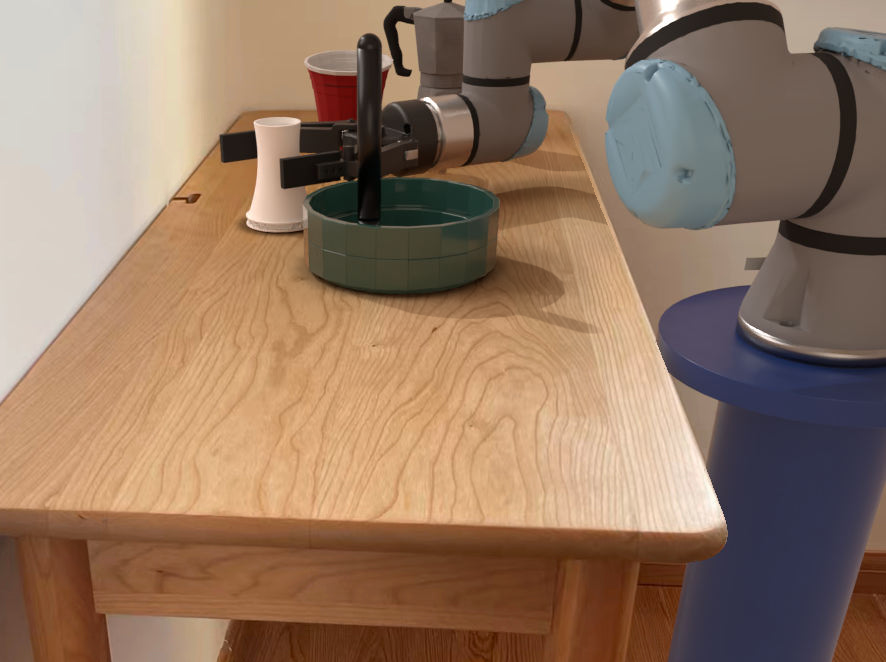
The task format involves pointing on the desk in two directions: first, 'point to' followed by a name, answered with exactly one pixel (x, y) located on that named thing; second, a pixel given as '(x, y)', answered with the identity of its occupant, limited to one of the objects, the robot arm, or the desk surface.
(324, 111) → the plastic cup
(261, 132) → the vase
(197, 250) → the desk surface
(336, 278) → the bowl
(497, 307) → the desk surface
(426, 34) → the coffeepot
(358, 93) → the black stick
